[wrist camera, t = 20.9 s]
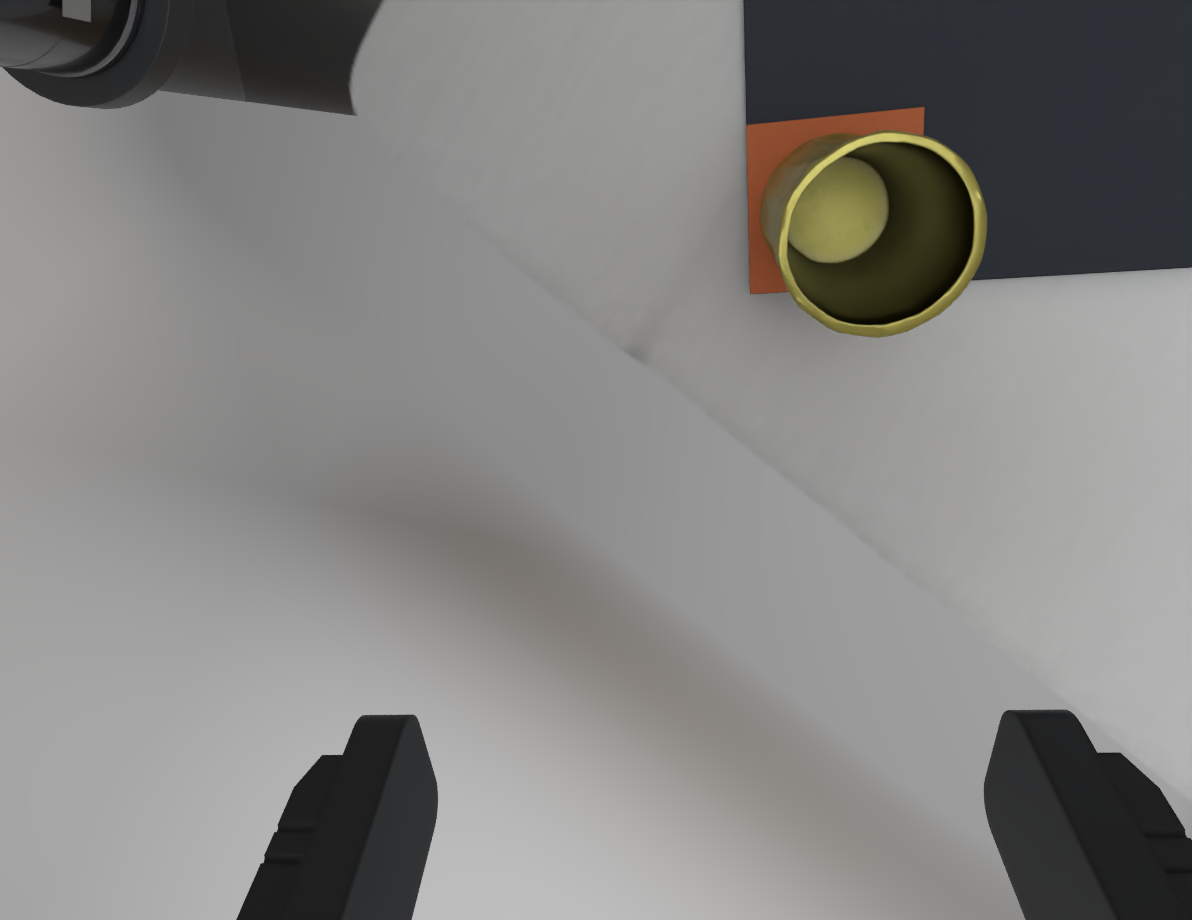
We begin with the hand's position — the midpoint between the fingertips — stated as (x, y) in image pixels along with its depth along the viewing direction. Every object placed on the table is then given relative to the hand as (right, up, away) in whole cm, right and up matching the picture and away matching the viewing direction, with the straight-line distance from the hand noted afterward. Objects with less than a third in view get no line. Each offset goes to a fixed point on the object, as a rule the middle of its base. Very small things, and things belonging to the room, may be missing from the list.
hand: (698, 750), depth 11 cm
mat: (+14, +19, +21) cm, 32 cm away
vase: (+9, +15, +23) cm, 28 cm away
